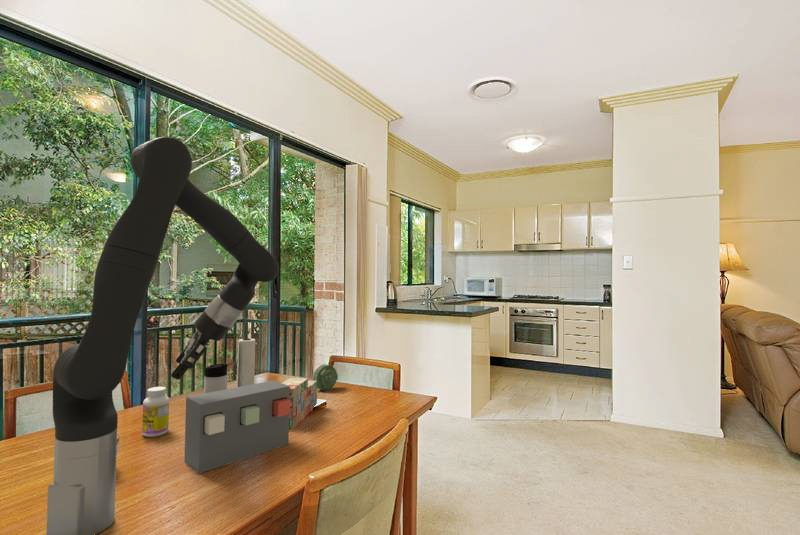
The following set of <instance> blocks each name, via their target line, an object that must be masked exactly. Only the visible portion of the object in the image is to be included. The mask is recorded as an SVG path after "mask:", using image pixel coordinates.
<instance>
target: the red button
mask: <svg viewBox="0 0 800 535" xmlns="http://www.w3.org/2000/svg"><path fill="white" fill-rule="evenodd" d="M288 414H290V400H288V399H285V398H284V399H279V400H275V401H273V415H275V416H277V417H280V416H284V415H288Z"/></svg>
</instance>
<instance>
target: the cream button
mask: <svg viewBox="0 0 800 535" xmlns="http://www.w3.org/2000/svg"><path fill="white" fill-rule="evenodd" d="M224 423H225V416H224V415H222V414H220V413H218V414H214V415H209V416H205V417H204V432H205V433H206V434H208V435H211V434H215V433H219V432H223V431H224Z"/></svg>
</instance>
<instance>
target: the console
mask: <svg viewBox="0 0 800 535" xmlns="http://www.w3.org/2000/svg"><path fill="white" fill-rule="evenodd" d="M282 383H283V382H279V381H276V380H269V381H264V382H262V381H261V382H258V383H254V384H252V385H246V386H241V387H237V386H235V387H232V388H227V389H225V390H220V391H215V392H209V393H204V392H203V393H198V394H194V395H190V396H185V426H184V427H185V428H184V429H185V430H184V457H183V458H184V460H183V461H184V464H186V465H187V466H189V468H190V469H192V470H193V471H195V473H197V474H202V473H204V472H207V471H210V470H211V471H212V470H214V469H218V468H220V467H223V466H227V465H230V464H232V463H235V462H238V461H239V462H240V461H242V460H245V459H248V458H251V457H254V456H257V455H261V454H263V453H266V452H270V451H273V450H277V449H279V448H282V447H286V446H288V445H289V434H290V433H289V432H290V429H289V414H288V415H284V416H280V417H277V416H275V415H273V401H275V400H279V399H284V398H285V399H288V400H289V398H290V386H288V385H285V384H282ZM253 405H255V406H257V407H259V408H260V410H259V422H257V423H254V424H250V425H244V424H242V423H240V417H241V408H244V407H249V406H253ZM218 413H220V414H222V415H224V416H225V423H224V431H223V432H219V433H215V434H211V435H208V434H206V433H205V432H204V417H205V416H209V415H214V414H218Z"/></svg>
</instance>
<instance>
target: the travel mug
mask: <svg viewBox="0 0 800 535" xmlns="http://www.w3.org/2000/svg"><path fill="white" fill-rule="evenodd" d="M228 366H229V364H228V363H216V364H211V365H209V366H204V374H203V375H204V376H203V394H204V393H209V392H215V391H220V390H225V389H228Z"/></svg>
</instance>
